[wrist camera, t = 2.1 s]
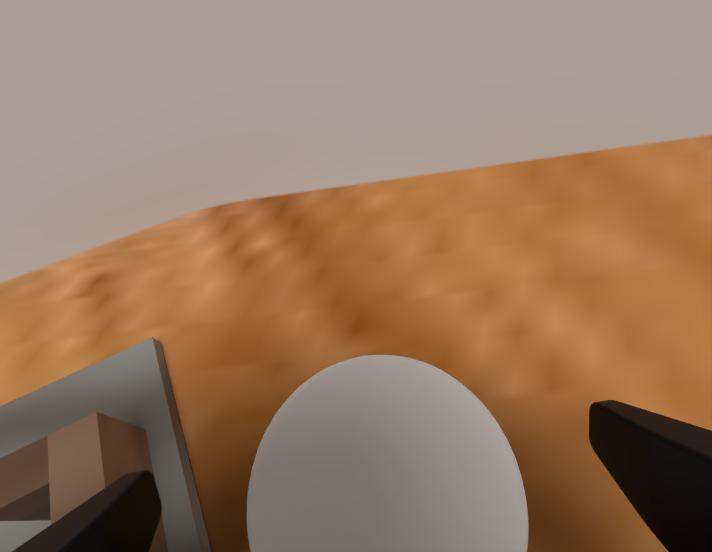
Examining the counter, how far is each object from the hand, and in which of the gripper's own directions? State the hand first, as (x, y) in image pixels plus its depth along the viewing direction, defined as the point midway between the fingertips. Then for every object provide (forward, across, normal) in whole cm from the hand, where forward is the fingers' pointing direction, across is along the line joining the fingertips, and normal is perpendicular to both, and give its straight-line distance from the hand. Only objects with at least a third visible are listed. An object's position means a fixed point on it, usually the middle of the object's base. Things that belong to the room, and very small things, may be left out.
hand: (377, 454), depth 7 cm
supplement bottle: (+5, 0, +6) cm, 8 cm away
